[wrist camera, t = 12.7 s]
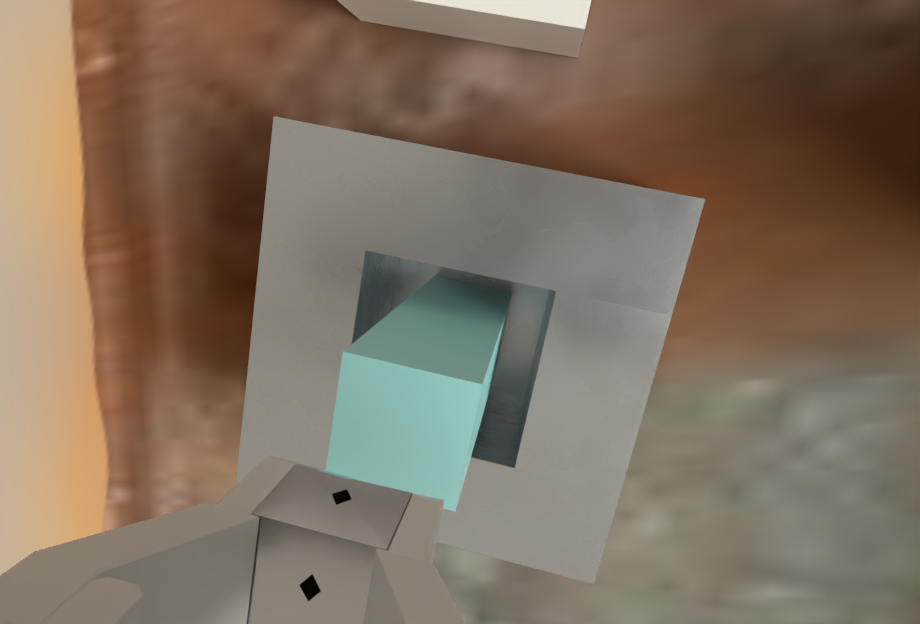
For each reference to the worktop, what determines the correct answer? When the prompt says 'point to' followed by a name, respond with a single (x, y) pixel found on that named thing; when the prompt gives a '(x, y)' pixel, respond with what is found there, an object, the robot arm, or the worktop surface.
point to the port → (525, 336)
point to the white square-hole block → (487, 20)
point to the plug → (419, 390)
